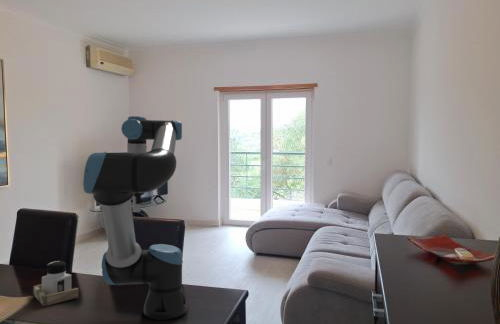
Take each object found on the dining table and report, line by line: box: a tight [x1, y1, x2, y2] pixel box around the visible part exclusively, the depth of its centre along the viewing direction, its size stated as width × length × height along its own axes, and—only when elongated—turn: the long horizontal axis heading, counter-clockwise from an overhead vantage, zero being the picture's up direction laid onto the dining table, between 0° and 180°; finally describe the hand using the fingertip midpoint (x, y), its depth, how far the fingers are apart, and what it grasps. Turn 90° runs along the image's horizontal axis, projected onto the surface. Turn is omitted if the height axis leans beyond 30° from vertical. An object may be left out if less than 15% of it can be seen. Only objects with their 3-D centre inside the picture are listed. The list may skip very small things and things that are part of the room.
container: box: [41, 260, 72, 295], centre depth 145 cm, size 8×8×13 cm
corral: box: [32, 283, 79, 307], centre depth 144 cm, size 14×12×4 cm
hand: (136, 211), depth 151 cm, fingers closed
